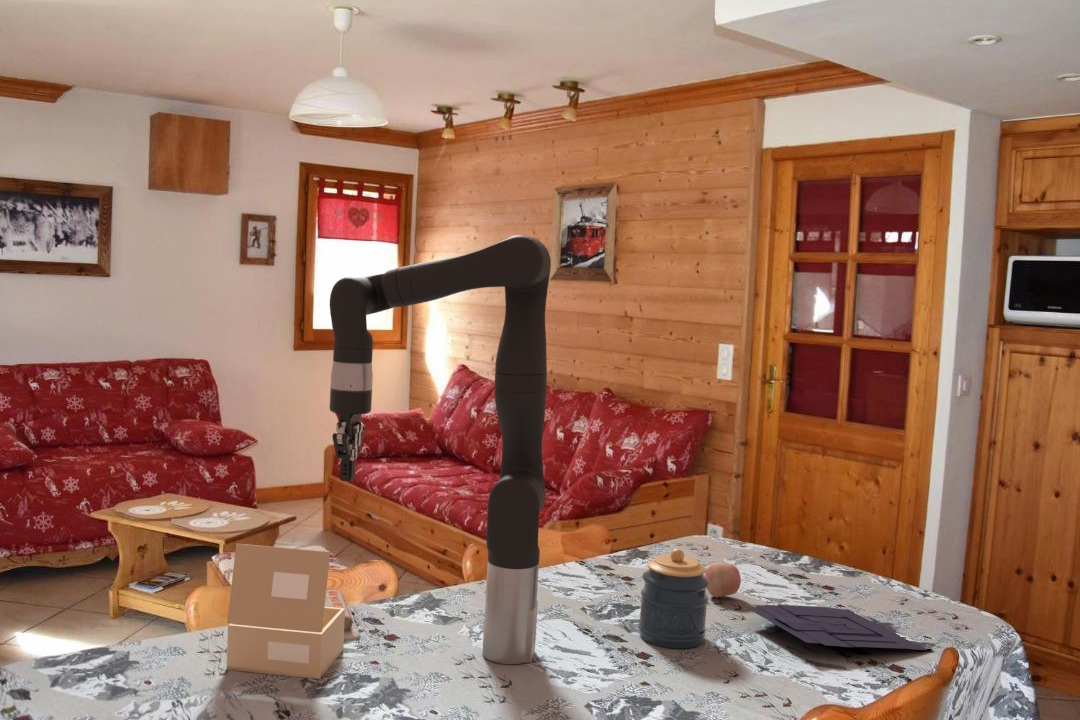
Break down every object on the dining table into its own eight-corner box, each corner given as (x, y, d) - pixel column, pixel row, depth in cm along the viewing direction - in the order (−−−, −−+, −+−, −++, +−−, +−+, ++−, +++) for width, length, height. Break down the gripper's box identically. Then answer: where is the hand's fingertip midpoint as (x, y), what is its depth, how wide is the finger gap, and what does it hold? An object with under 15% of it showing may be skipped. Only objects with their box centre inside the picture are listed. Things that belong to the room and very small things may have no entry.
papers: (735, 616, 202) (738, 598, 202) (848, 621, 214) (851, 605, 214) (810, 660, 180) (814, 641, 180) (932, 664, 192) (935, 646, 192)
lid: (330, 551, 163) (329, 552, 162) (321, 631, 161) (320, 632, 160) (237, 543, 164) (236, 543, 163) (228, 622, 162) (226, 623, 162)
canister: (712, 634, 194) (719, 547, 193) (694, 655, 182) (701, 562, 181) (650, 621, 199) (656, 536, 198) (628, 640, 188) (634, 550, 186)
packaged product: (297, 587, 194) (348, 585, 197) (296, 611, 194) (347, 609, 197) (306, 618, 177) (361, 616, 180) (304, 644, 177) (360, 641, 180)
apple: (744, 597, 219) (746, 562, 218) (731, 606, 212) (734, 570, 212) (710, 589, 223) (713, 555, 222) (697, 597, 216) (700, 562, 216)
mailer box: (343, 650, 174) (345, 608, 174) (319, 679, 161) (321, 634, 161) (256, 641, 176) (258, 600, 175) (226, 669, 163) (227, 625, 162)
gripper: (361, 391, 172) (356, 489, 173) (380, 384, 185) (376, 474, 187) (319, 388, 173) (315, 485, 174) (342, 381, 186) (338, 471, 187)
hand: (347, 479), depth 180 cm, fingers closed
